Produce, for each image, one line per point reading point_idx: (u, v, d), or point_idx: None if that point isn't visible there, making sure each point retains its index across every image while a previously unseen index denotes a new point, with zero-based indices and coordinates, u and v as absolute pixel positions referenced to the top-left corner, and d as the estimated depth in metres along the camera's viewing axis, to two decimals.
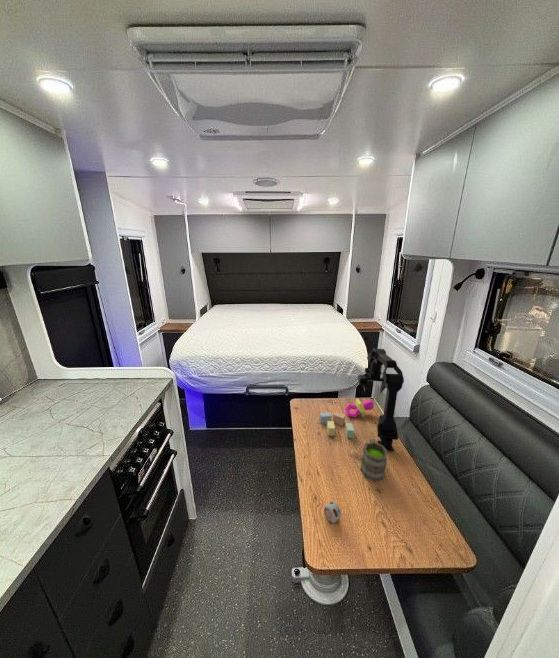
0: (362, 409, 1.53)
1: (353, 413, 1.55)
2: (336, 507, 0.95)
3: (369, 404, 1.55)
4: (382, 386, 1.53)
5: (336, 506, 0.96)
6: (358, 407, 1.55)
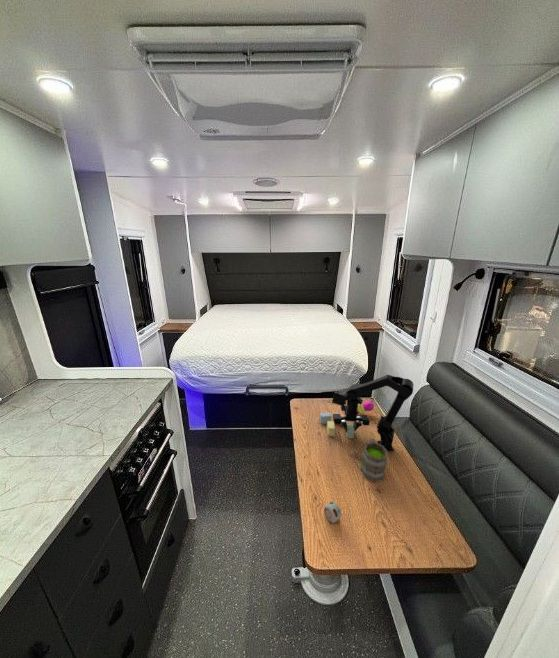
0: (361, 410, 1.52)
1: None
2: (336, 507, 0.95)
3: (369, 405, 1.54)
4: (354, 426, 1.39)
5: (336, 506, 0.96)
6: (358, 408, 1.55)
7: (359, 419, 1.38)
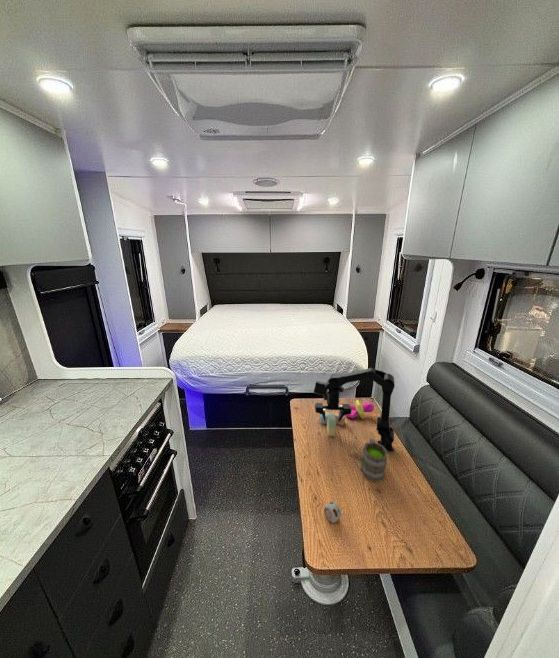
0: (360, 411, 1.51)
1: (351, 414, 1.54)
2: (336, 507, 0.95)
3: (368, 406, 1.53)
4: (339, 415, 1.38)
5: (336, 506, 0.96)
6: (357, 408, 1.54)
7: None
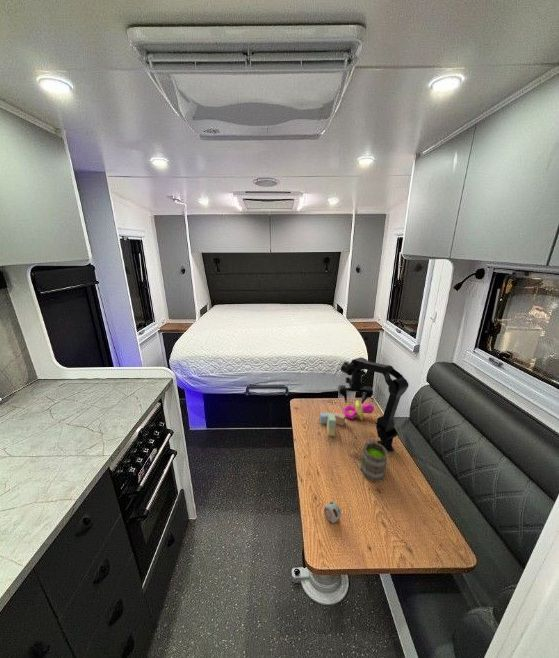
0: (359, 411, 1.51)
1: (350, 414, 1.54)
2: (336, 507, 0.96)
3: (368, 407, 1.52)
4: (363, 397, 1.46)
5: (336, 506, 0.96)
6: (356, 409, 1.54)
7: None
